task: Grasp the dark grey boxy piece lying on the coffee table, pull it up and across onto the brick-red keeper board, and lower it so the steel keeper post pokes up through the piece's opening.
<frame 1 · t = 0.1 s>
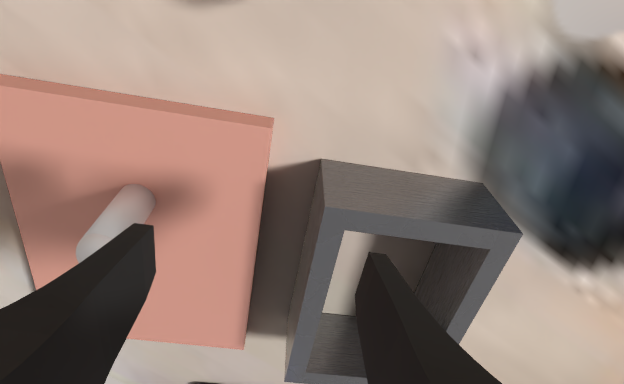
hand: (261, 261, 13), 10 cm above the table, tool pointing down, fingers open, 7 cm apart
dark grey boxy piece: (373, 259, 26), on the table
keeper board: (149, 231, 25), on the table
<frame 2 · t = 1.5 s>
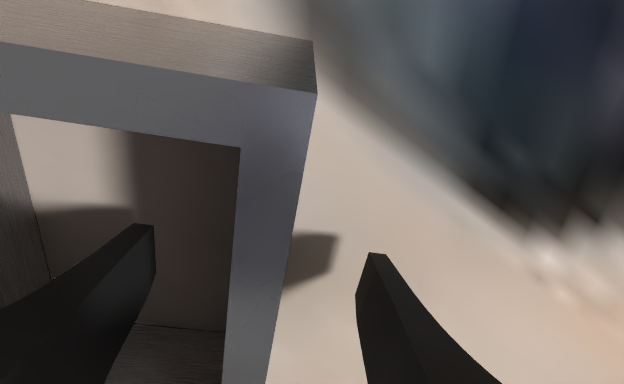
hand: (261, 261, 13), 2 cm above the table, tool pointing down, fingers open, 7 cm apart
dark grey boxy piece: (143, 219, 14), on the table
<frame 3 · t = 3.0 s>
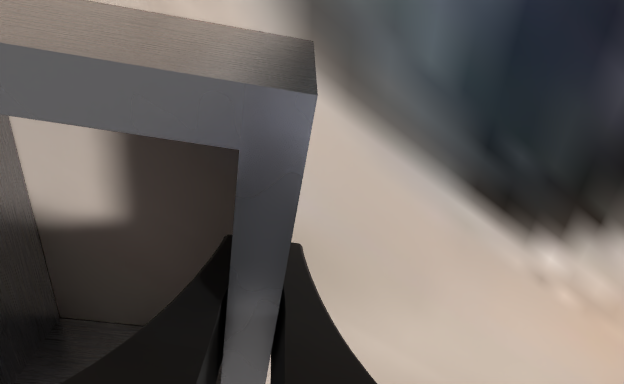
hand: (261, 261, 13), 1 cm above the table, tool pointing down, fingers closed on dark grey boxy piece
dark grey boxy piece: (142, 220, 14), on the table, touching gripper
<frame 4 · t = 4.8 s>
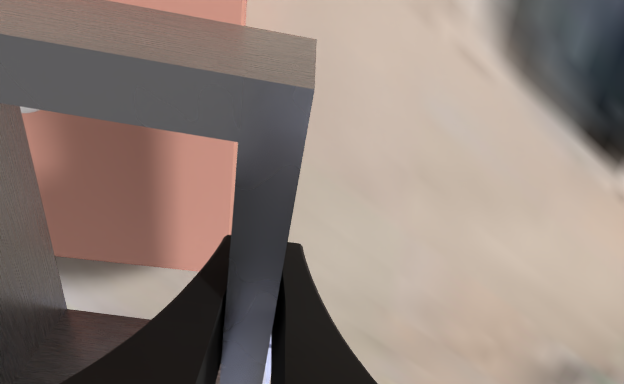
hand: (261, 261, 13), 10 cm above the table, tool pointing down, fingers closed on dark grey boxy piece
dark grey boxy piece: (148, 214, 14), point 8 cm above the table, touching gripper
keeper board: (107, 118, 20), on the table
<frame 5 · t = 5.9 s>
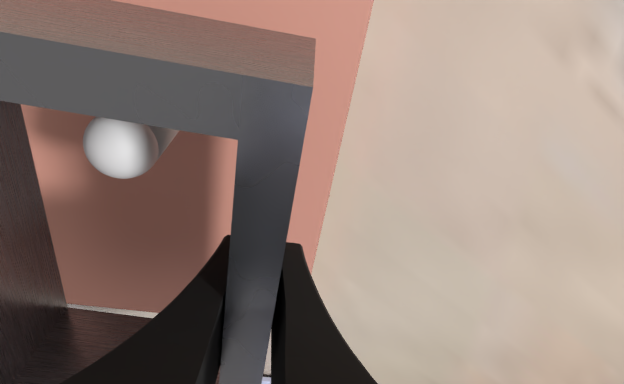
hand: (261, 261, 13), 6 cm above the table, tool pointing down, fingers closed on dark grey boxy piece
dark grey boxy piece: (148, 212, 14), point 5 cm above the table, touching gripper
keeper board: (181, 159, 18), on the table
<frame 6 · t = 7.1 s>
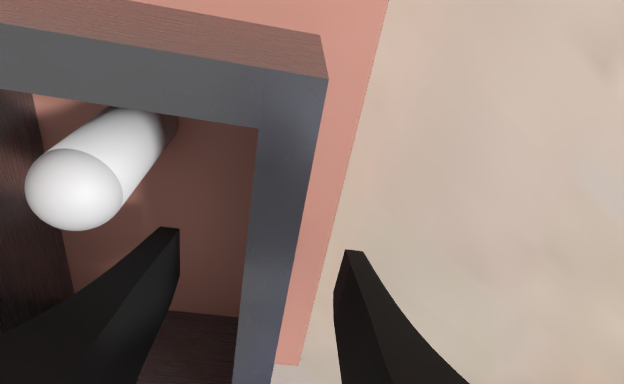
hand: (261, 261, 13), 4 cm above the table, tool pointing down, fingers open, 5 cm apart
dark grey boxy piece: (158, 205, 14), point 1 cm above the table, touching keeper board
keeper board: (164, 185, 16), on the table
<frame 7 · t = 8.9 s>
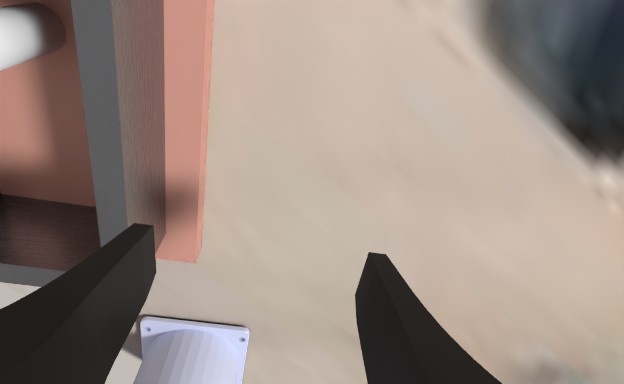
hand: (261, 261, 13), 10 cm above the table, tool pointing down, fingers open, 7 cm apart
dark grey boxy piece: (58, 104, 18), point 1 cm above the table, touching keeper board
keeper board: (70, 95, 20), on the table
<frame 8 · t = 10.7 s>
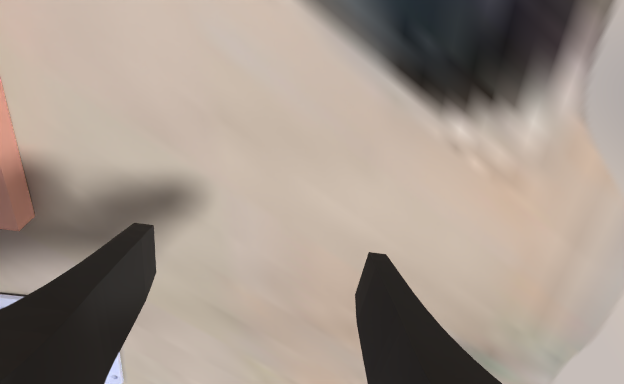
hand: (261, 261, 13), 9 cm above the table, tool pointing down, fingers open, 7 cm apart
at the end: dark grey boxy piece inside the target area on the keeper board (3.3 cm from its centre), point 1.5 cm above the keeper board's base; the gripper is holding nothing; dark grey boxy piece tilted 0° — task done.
